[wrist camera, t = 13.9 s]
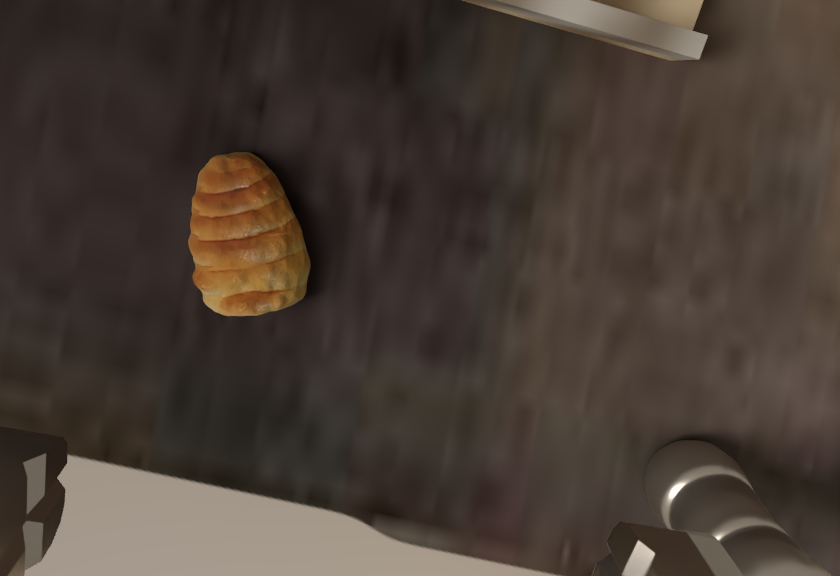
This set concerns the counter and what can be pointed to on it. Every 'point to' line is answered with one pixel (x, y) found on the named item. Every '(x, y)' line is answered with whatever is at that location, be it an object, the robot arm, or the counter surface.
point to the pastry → (246, 239)
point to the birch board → (619, 22)
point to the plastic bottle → (722, 509)
